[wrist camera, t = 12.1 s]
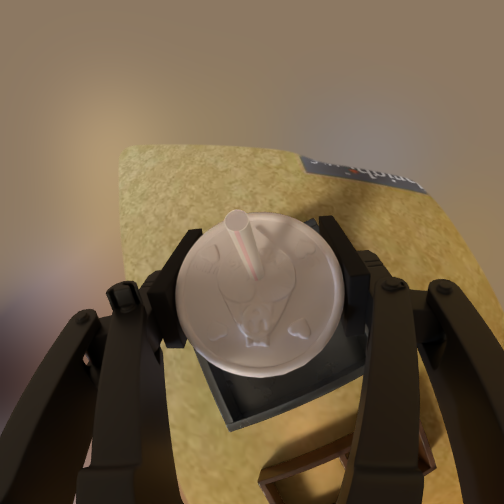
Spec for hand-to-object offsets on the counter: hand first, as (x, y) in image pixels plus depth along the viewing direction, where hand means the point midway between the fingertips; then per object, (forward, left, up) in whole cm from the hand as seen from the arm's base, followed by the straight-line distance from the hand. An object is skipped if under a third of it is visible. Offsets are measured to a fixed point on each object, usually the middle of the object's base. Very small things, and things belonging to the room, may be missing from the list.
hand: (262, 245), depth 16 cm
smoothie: (-3, +1, -5) cm, 6 cm away
